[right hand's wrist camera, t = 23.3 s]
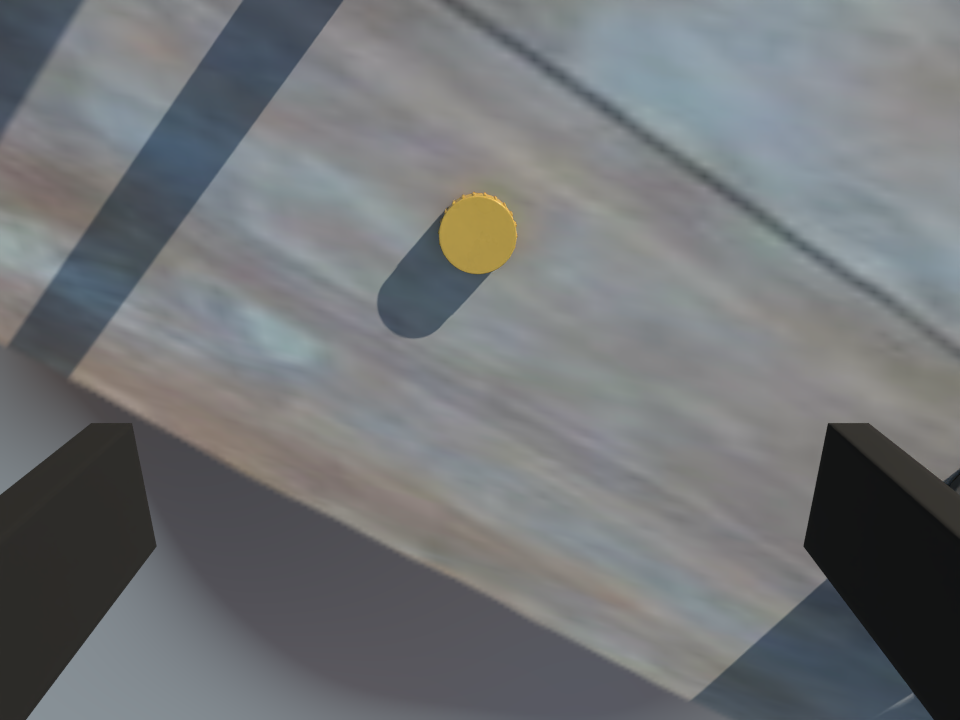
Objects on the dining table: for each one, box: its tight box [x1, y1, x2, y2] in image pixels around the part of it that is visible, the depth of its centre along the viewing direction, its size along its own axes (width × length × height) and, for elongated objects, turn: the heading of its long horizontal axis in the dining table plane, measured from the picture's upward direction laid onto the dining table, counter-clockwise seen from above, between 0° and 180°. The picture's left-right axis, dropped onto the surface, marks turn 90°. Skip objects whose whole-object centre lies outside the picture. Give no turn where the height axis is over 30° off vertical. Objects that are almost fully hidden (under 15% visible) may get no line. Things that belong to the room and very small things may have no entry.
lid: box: [438, 192, 517, 274], centre depth 39 cm, size 5×5×2 cm
